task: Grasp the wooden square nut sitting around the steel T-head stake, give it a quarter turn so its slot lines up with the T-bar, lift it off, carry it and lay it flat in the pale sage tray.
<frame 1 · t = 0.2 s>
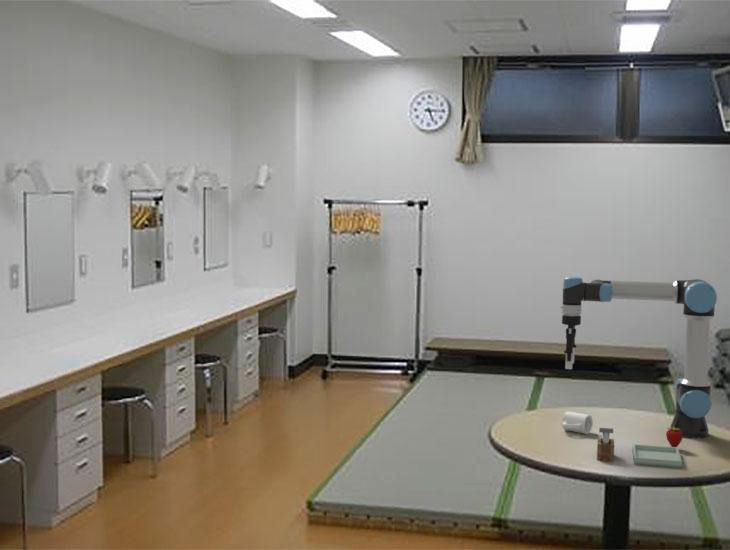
hand: (569, 366, 387), 28 cm above the table, fingers open, 13 cm apart
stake: (605, 457, 353), on the table
strawberry: (673, 449, 367), on the table
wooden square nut: (605, 457, 353), on the table
tray: (656, 459, 352), on the table
mug: (574, 433, 389), on the table
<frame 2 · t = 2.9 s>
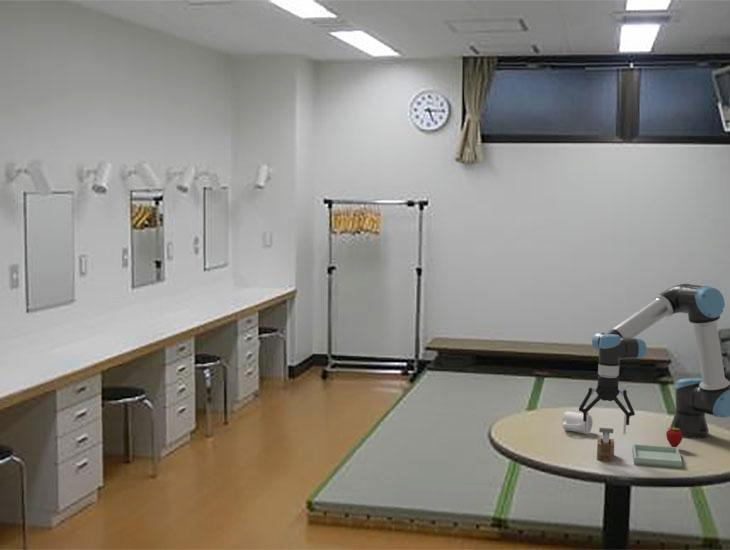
hand: (605, 431, 352), 10 cm above the table, fingers open, 13 cm apart
nothing on the table moved.
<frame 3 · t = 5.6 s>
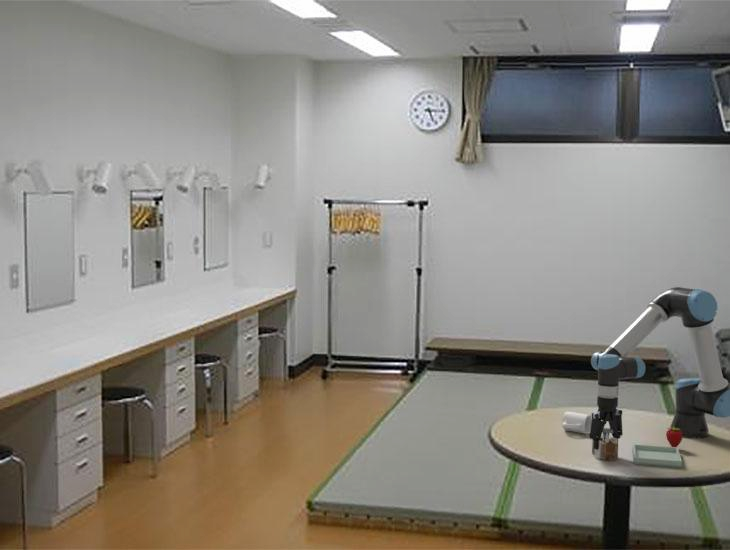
hand: (605, 456, 353), 0 cm above the table, fingers closed on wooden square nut, 7 cm apart
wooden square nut: (604, 456, 354), on the table, touching gripper
everything else where it was.
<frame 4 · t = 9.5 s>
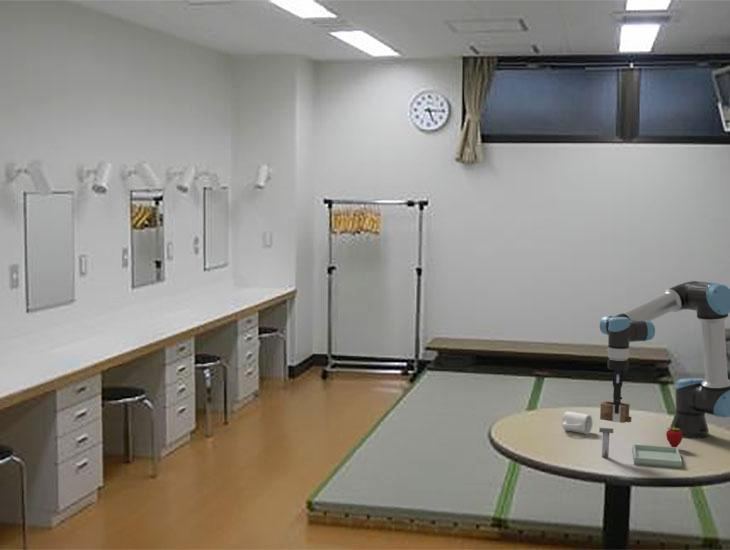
hand: (616, 419, 352), 15 cm above the table, fingers closed on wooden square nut, 7 cm apart
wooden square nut: (614, 419, 352), point 14 cm above the table, touching gripper
everything else where it was.
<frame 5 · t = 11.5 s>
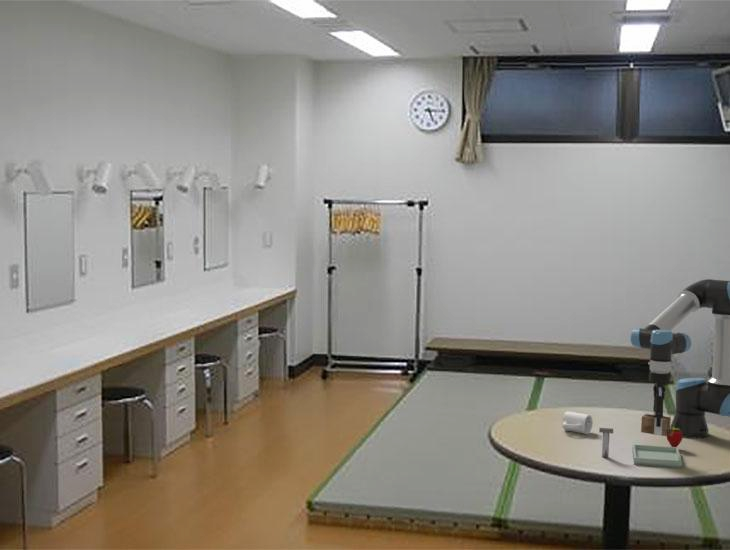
hand: (657, 432, 351), 10 cm above the table, fingers closed on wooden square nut, 7 cm apart
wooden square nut: (655, 432, 351), point 10 cm above the table, touching gripper
everything else where it was.
when the fingers open (2 cm above the table, at t = 13.3 s): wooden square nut stays where it is, resting on tray.
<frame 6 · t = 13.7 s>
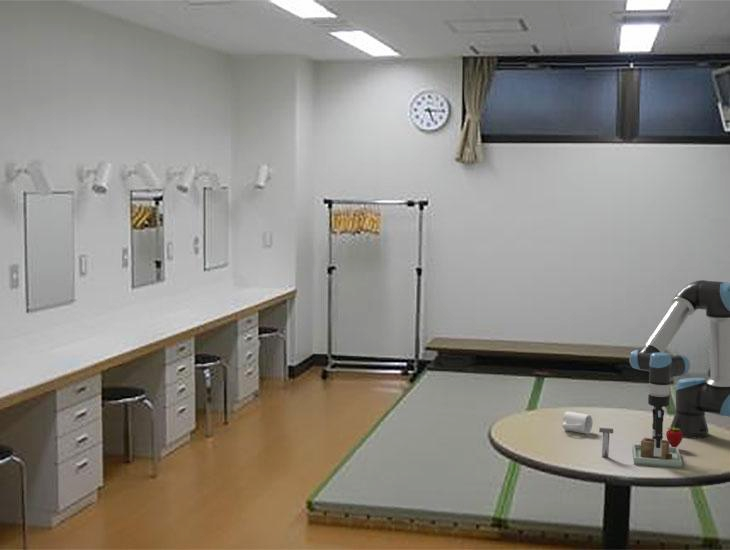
hand: (656, 451, 352), 3 cm above the table, fingers open, 12 cm apart
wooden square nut: (654, 456, 352), point 1 cm above the table, touching tray
everything else where it was.
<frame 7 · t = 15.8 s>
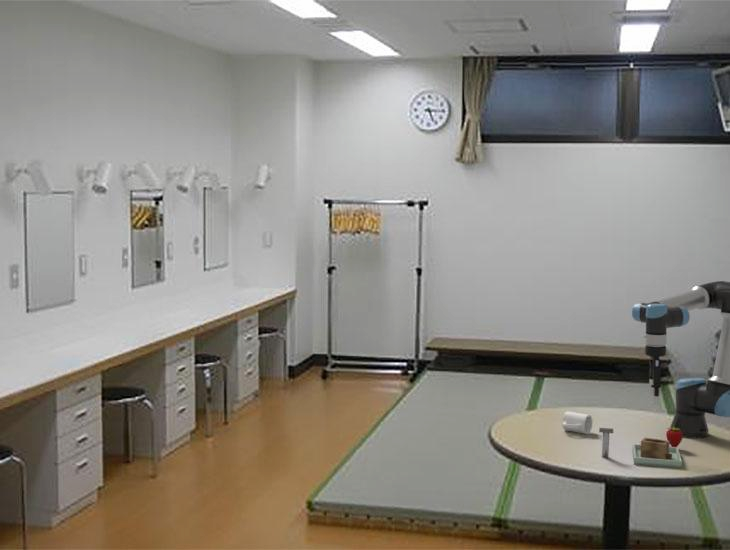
hand: (654, 400, 357), 21 cm above the table, fingers open, 13 cm apart
nothing on the table moved.
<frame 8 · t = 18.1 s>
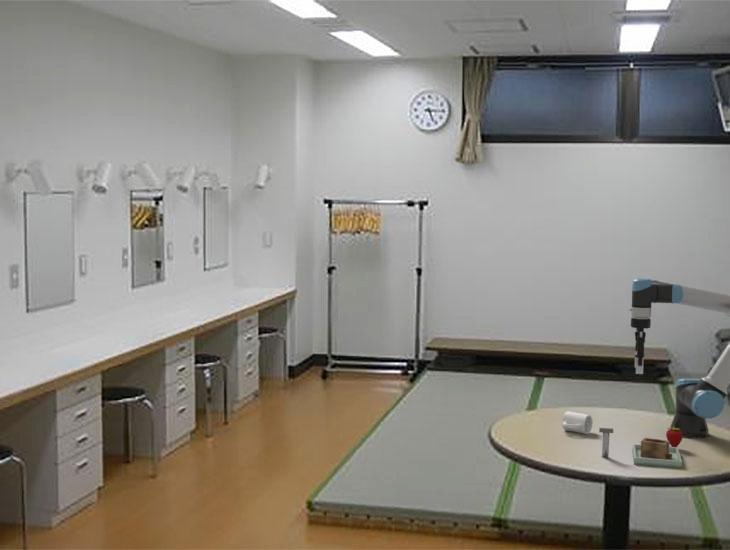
hand: (638, 370, 374), 29 cm above the table, fingers open, 13 cm apart
nothing on the table moved.
at the end: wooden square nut inside the target area on the tray (0.6 cm from its centre), point 0.8 cm above the tray's base; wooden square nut tilted 0°; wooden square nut touching tray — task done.
